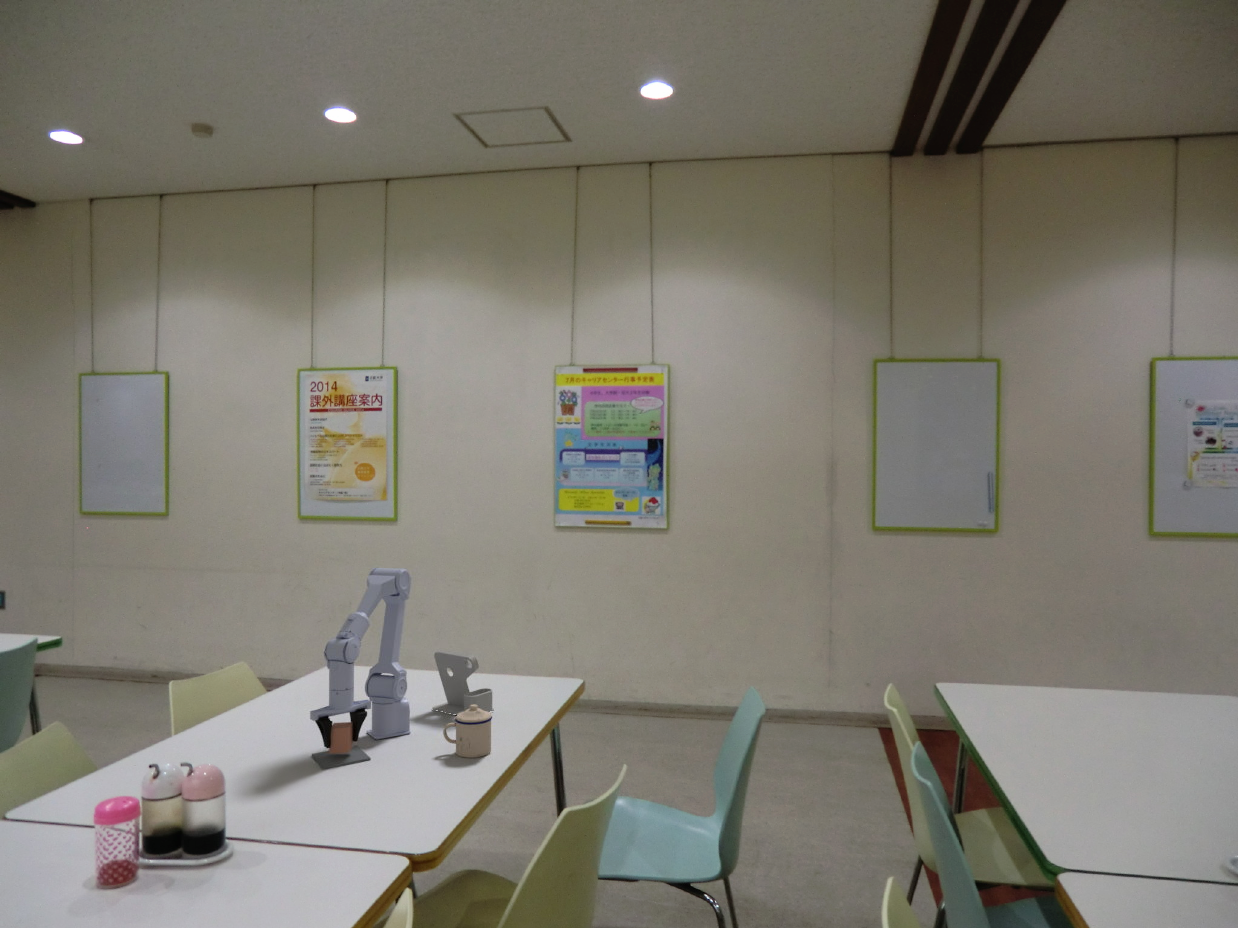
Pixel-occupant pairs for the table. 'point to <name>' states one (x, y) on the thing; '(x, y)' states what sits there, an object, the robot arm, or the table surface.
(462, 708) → the phone holder
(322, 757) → the charcoal mat
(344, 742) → the brick-red block
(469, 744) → the teacup with lid
